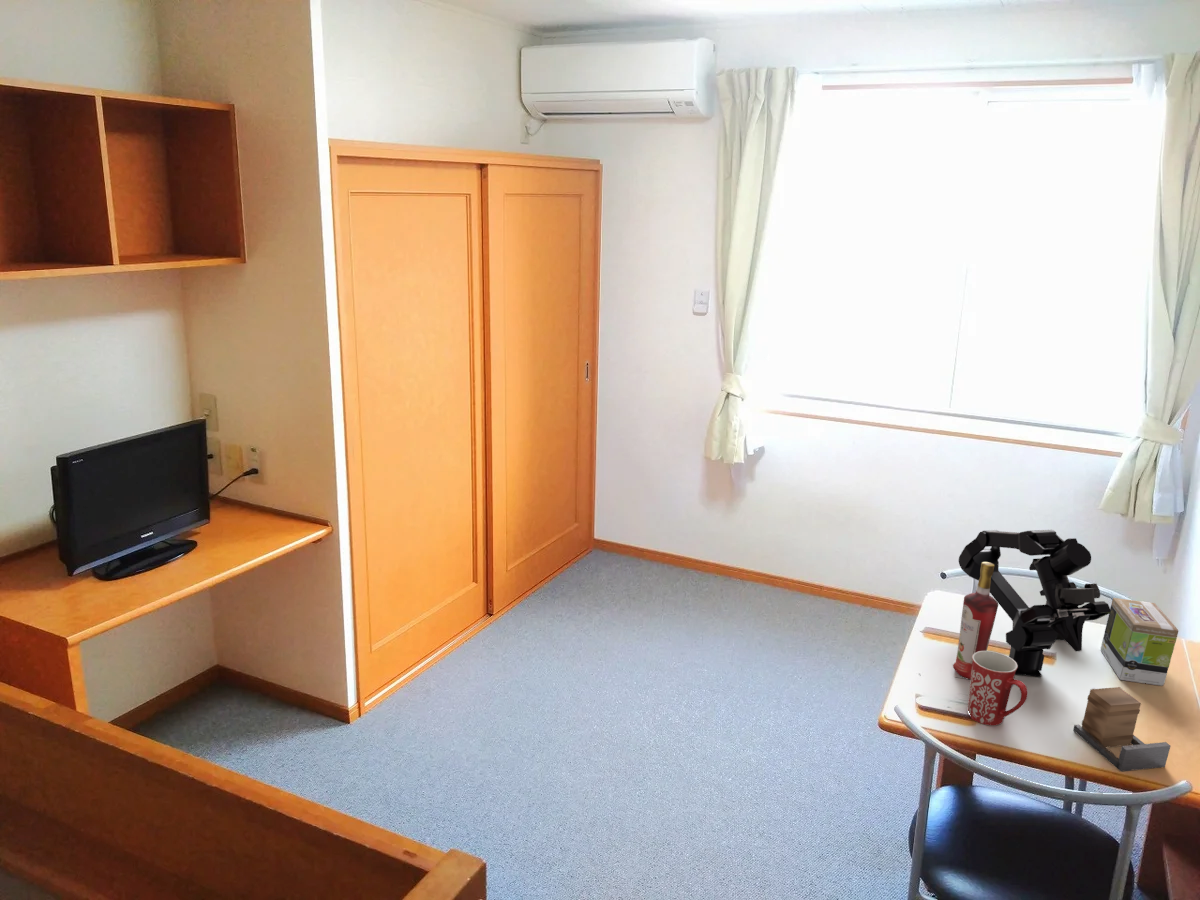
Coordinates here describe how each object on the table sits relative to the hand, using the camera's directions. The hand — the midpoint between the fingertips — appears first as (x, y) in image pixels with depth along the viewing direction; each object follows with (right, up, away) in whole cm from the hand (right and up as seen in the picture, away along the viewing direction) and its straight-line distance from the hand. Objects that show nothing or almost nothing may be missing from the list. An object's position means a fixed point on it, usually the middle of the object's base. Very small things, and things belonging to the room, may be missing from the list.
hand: (1078, 651), depth 198 cm
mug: (-20, -14, -3) cm, 25 cm away
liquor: (-18, -9, +15) cm, 25 cm away
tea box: (+24, -9, +21) cm, 33 cm away
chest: (+2, -17, -7) cm, 18 cm away
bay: (+2, -18, -11) cm, 21 cm away
